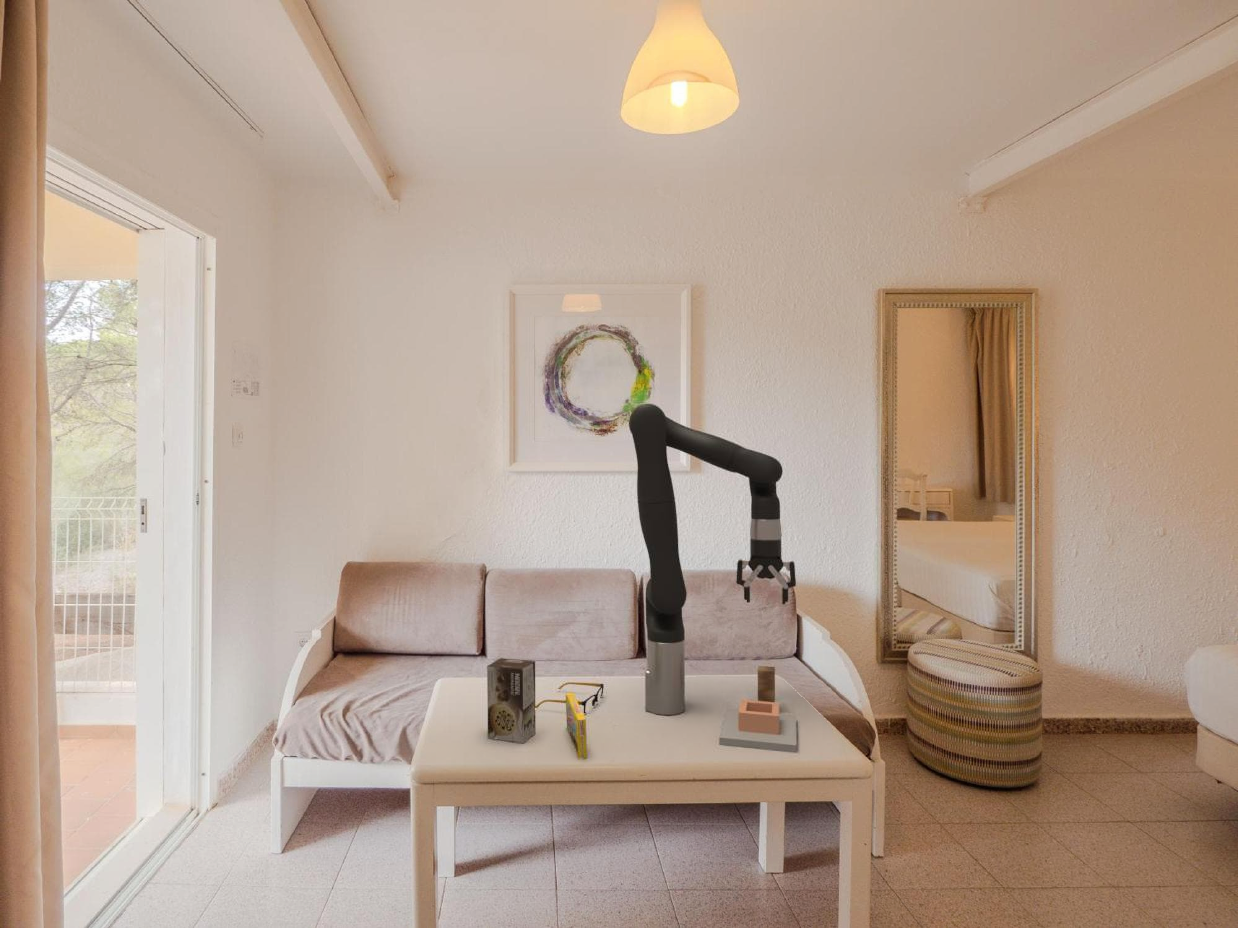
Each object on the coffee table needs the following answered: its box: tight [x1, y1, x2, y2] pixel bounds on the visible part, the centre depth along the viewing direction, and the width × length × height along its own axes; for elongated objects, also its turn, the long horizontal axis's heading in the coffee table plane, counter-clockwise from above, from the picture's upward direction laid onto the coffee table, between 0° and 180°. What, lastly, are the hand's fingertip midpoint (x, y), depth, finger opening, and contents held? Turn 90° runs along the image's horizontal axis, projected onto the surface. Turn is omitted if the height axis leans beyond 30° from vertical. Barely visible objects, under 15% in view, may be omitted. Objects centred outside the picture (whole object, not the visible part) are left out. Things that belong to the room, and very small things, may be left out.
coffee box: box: [486, 657, 537, 744], centre depth 145 cm, size 9×6×16 cm
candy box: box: [565, 692, 588, 760], centre depth 141 cm, size 16×2×8 cm, turn 13°
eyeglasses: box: [535, 681, 605, 714], centre depth 165 cm, size 14×14×4 cm
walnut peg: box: [757, 665, 776, 702], centre depth 161 cm, size 4×4×10 cm
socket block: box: [718, 699, 798, 753], centre depth 147 cm, size 16×18×6 cm
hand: (766, 602), depth 161 cm, fingers open, 8 cm apart
